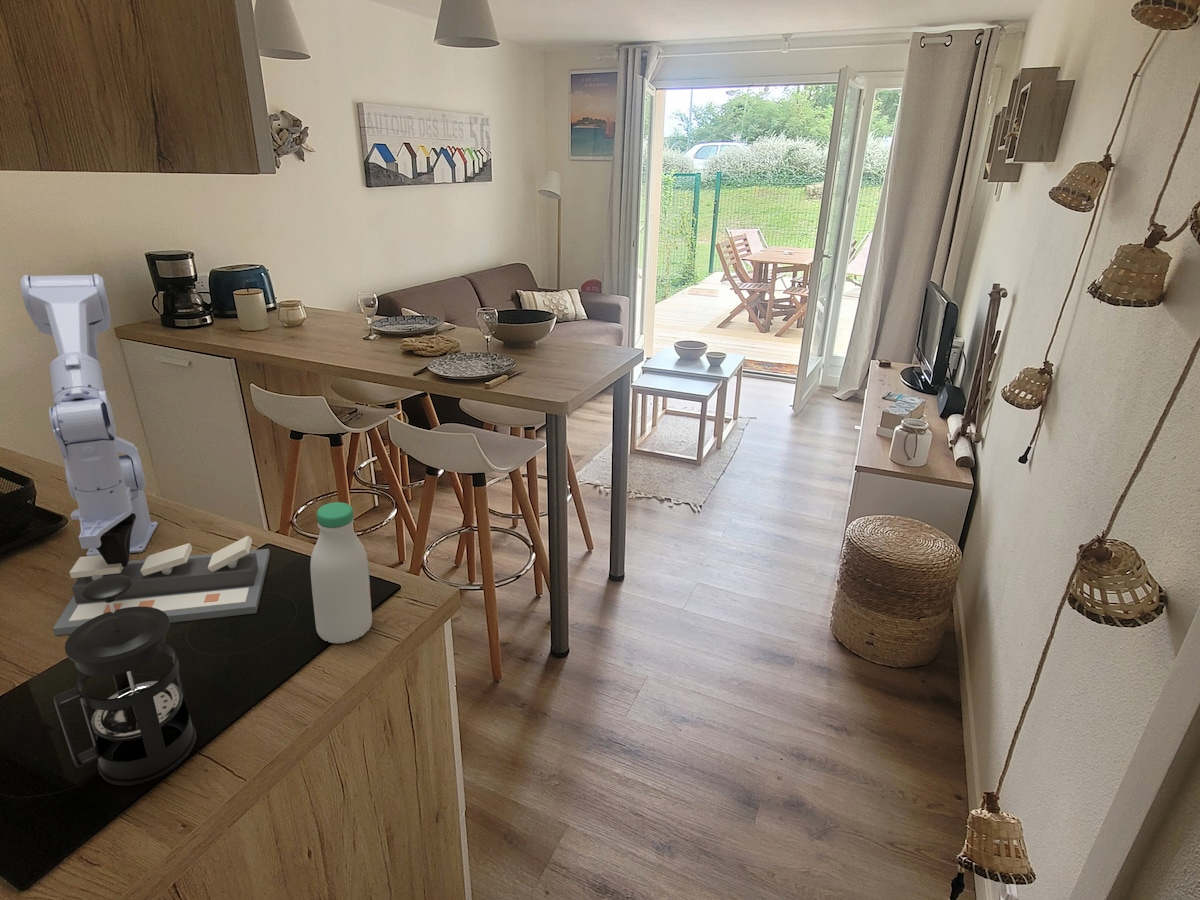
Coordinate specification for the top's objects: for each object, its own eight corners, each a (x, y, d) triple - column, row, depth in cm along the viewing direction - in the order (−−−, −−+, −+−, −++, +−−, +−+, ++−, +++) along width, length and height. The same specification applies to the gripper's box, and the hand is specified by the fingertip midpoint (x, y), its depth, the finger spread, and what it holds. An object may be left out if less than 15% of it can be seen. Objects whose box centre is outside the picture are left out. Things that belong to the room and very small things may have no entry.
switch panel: (95, 570, 105) (89, 548, 103) (269, 554, 112) (267, 534, 111) (54, 635, 91) (47, 612, 89) (256, 613, 99) (253, 590, 97)
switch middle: (154, 566, 101) (147, 555, 100) (195, 553, 102) (189, 543, 101) (146, 581, 98) (140, 570, 97) (189, 567, 99) (183, 557, 98)
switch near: (83, 568, 98) (79, 556, 97) (130, 563, 100) (127, 552, 99) (73, 584, 95) (69, 572, 94) (122, 578, 97) (118, 567, 96)
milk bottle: (374, 639, 96) (366, 519, 88) (316, 649, 93) (303, 526, 85) (370, 607, 102) (363, 493, 94) (316, 616, 99) (303, 498, 91)
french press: (186, 703, 82) (151, 546, 73) (215, 748, 77) (182, 584, 67) (69, 757, 74) (14, 587, 65) (92, 812, 69) (36, 635, 59)
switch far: (221, 562, 104) (212, 553, 103) (256, 544, 105) (248, 535, 104) (216, 577, 101) (207, 567, 100) (252, 558, 101) (244, 549, 100)
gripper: (83, 462, 97) (104, 542, 102) (41, 509, 84) (67, 597, 90) (139, 459, 99) (156, 537, 105) (107, 504, 87) (128, 591, 92)
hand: (119, 565), depth 97 cm, fingers closed, pressing on switch near
